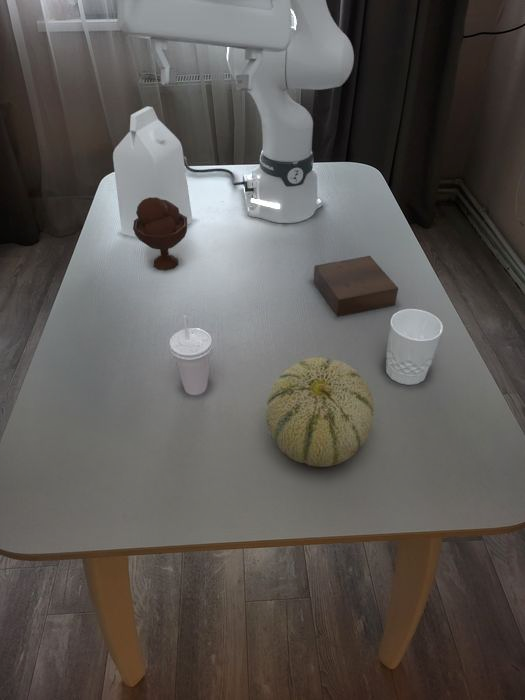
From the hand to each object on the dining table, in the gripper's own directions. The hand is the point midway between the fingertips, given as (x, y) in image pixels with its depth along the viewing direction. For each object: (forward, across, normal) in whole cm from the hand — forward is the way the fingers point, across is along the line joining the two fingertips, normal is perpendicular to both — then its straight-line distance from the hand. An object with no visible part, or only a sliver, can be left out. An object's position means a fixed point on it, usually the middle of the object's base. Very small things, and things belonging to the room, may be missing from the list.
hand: (207, 88), depth 66 cm
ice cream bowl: (+33, -7, -42) cm, 54 cm away
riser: (+34, -37, -16) cm, 53 cm away
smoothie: (+44, -1, -6) cm, 44 cm away
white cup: (+41, -34, +5) cm, 53 cm away
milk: (+29, -10, -58) cm, 65 cm away
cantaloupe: (+46, -13, +12) cm, 50 cm away
